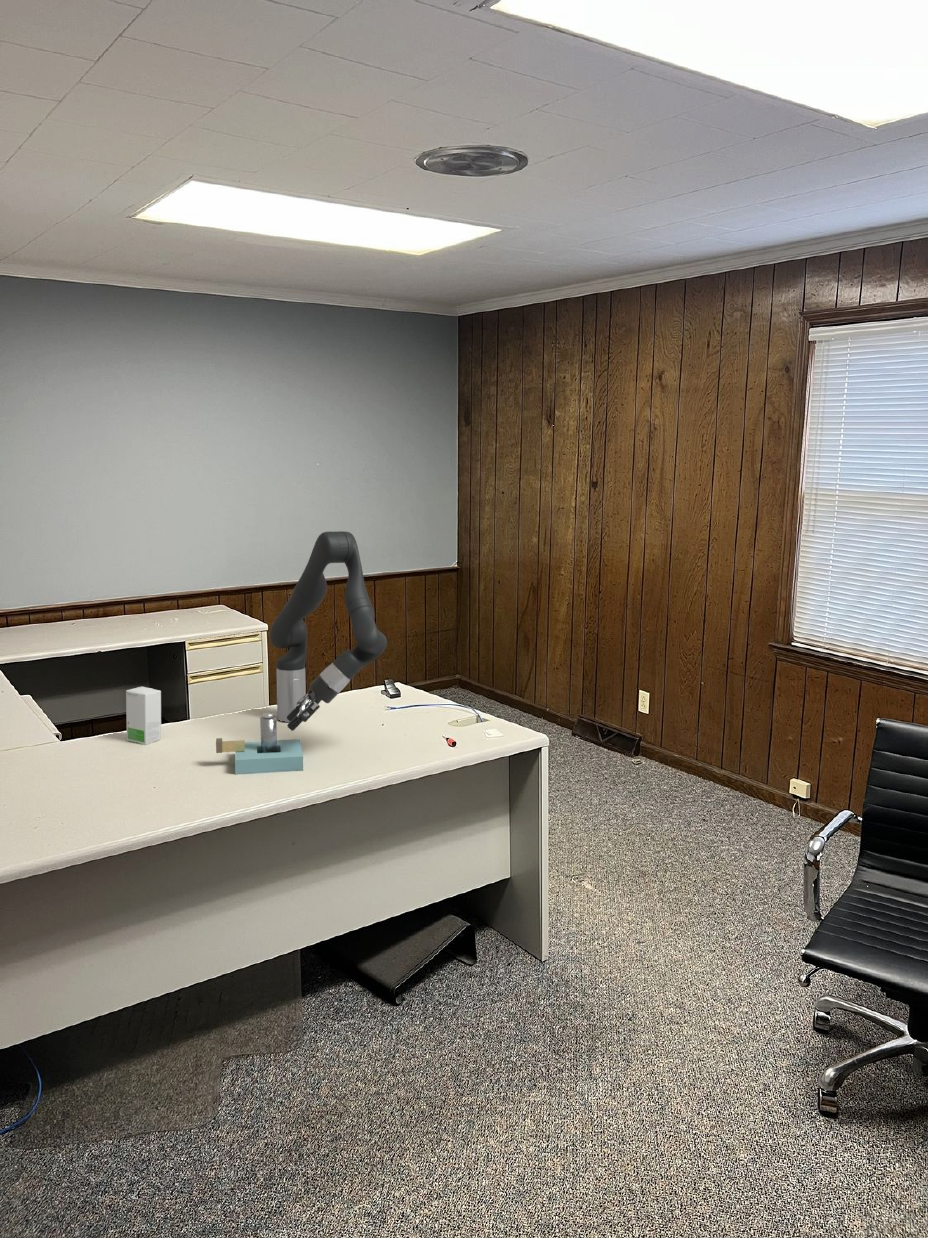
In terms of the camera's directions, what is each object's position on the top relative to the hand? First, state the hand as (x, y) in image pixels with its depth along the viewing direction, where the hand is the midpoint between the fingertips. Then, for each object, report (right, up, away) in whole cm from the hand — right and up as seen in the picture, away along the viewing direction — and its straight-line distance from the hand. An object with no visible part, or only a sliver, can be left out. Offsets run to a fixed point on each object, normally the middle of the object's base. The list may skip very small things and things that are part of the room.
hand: (289, 724), depth 253 cm
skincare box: (-47, -7, +19) cm, 51 cm away
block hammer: (-15, -7, -2) cm, 17 cm away
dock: (-6, -11, +1) cm, 12 cm away
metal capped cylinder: (-6, -10, 0) cm, 11 cm away
